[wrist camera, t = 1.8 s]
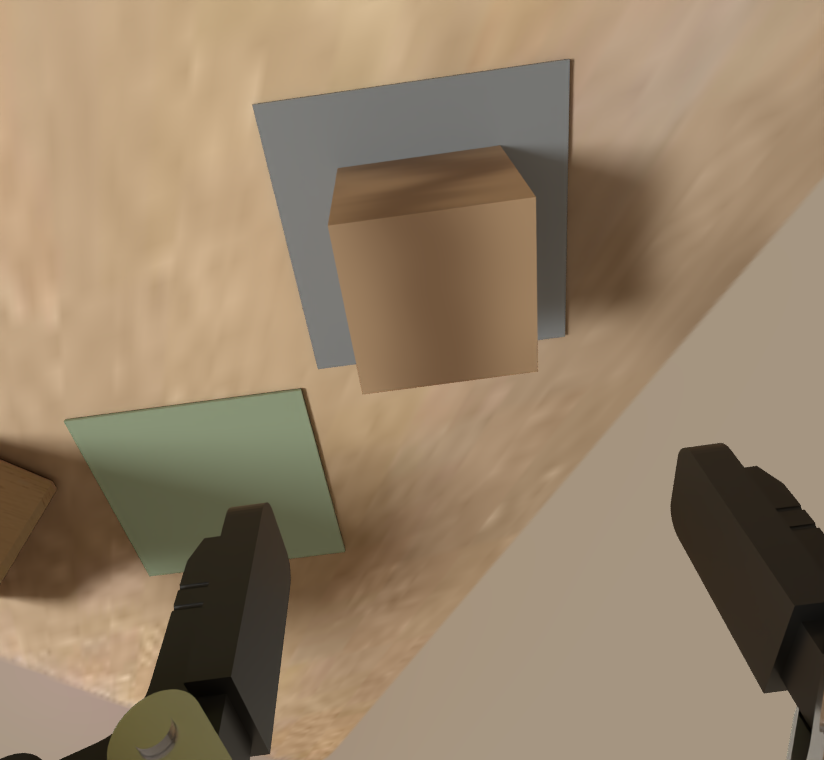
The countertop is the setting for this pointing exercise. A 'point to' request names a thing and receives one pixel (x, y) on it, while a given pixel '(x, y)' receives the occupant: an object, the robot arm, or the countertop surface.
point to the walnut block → (437, 268)
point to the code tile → (406, 138)
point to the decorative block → (19, 509)
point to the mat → (210, 473)
